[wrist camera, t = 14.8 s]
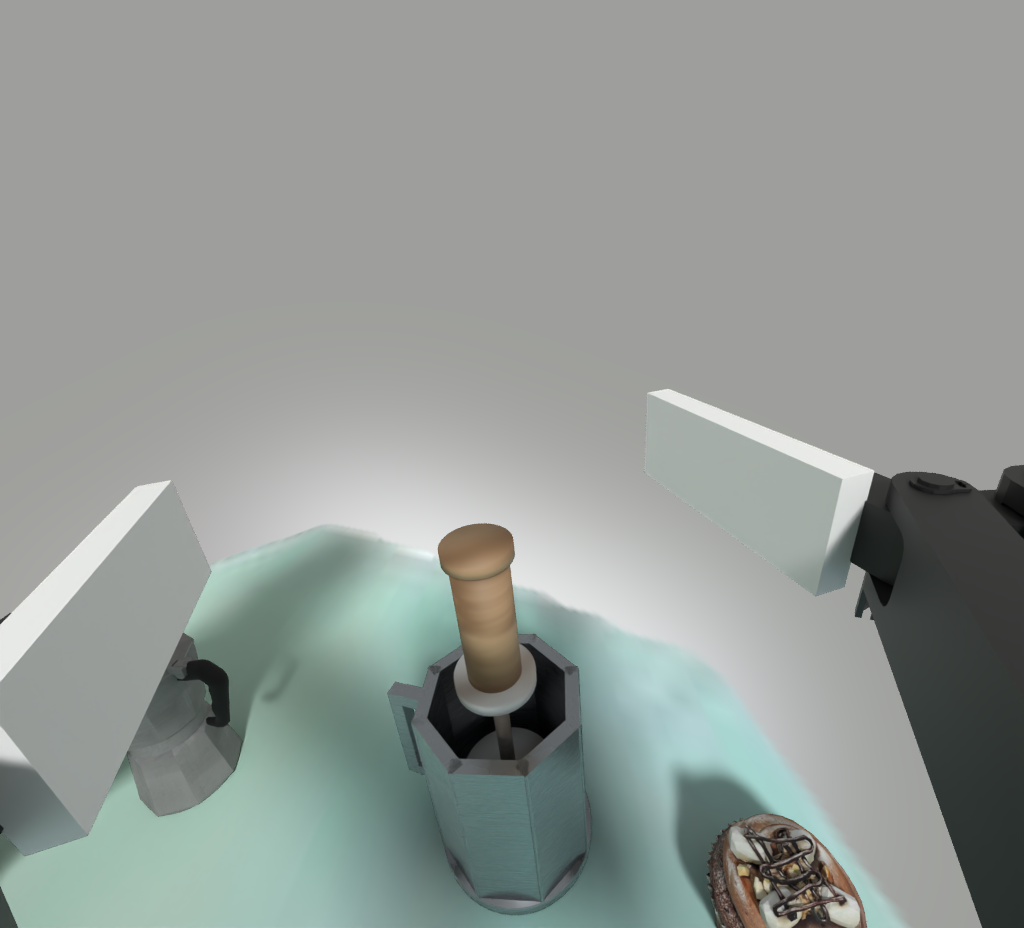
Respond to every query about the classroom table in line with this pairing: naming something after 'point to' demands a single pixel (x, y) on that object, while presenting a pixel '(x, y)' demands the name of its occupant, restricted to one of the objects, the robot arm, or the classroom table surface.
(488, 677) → the plunger
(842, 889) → the cupcake
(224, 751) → the coffeepot
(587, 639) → the classroom table surface
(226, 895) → the classroom table surface
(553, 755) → the press carafe
